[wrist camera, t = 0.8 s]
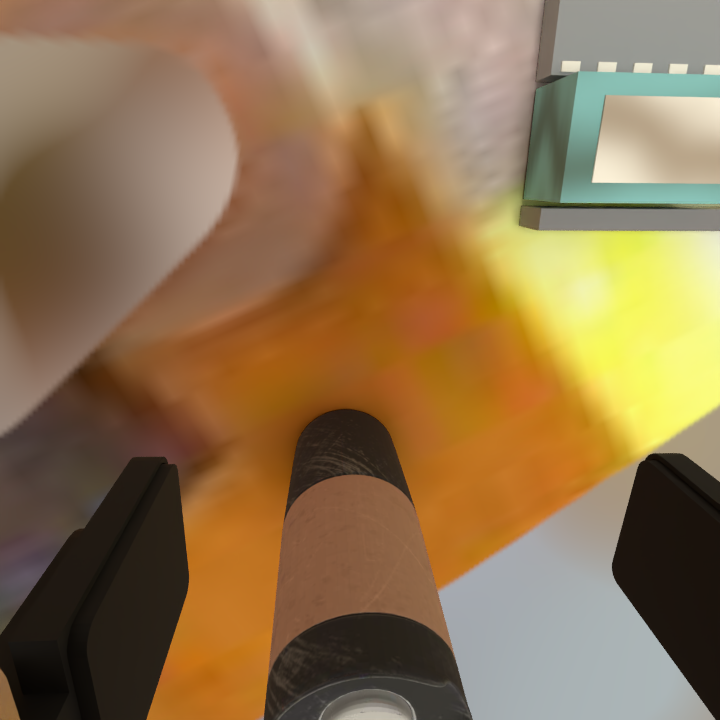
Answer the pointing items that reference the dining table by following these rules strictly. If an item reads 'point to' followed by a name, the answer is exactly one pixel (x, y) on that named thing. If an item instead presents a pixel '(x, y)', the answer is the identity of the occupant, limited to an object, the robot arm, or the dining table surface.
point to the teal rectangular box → (626, 139)
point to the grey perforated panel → (632, 55)
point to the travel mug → (356, 588)
